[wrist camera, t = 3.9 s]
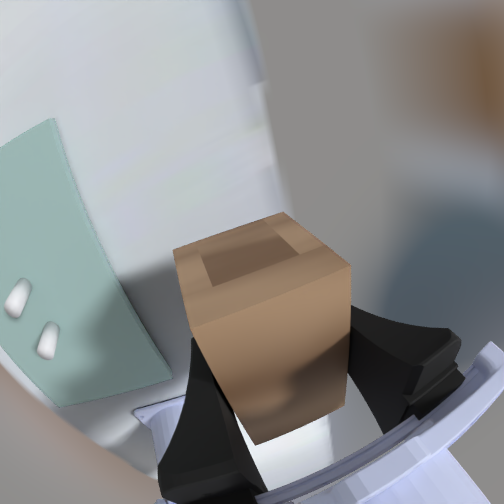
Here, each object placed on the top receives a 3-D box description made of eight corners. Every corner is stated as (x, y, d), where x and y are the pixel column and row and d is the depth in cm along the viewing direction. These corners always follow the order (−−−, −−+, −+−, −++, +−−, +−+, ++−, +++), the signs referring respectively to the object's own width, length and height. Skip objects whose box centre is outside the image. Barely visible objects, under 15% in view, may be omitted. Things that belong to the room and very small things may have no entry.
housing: (303, 346, 17) (344, 405, 13) (227, 376, 16) (255, 445, 12) (283, 211, 13) (350, 264, 8) (172, 249, 12) (190, 329, 7)
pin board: (171, 369, 22) (177, 403, 19) (59, 399, 19) (56, 429, 17) (54, 118, 12) (30, 119, 9) (-68, 205, 9) (-95, 223, 6)
